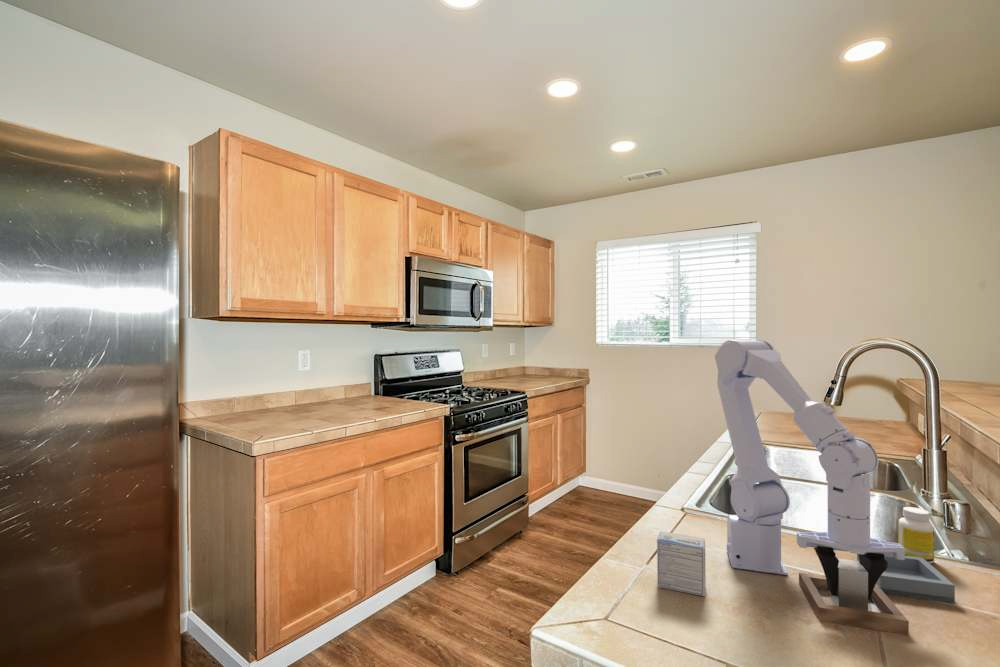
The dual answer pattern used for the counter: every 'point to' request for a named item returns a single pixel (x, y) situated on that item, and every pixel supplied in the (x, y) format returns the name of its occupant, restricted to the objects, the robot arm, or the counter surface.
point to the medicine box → (681, 563)
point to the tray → (915, 580)
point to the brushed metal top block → (851, 585)
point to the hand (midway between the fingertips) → (848, 595)
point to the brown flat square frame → (884, 621)
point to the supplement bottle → (917, 534)
